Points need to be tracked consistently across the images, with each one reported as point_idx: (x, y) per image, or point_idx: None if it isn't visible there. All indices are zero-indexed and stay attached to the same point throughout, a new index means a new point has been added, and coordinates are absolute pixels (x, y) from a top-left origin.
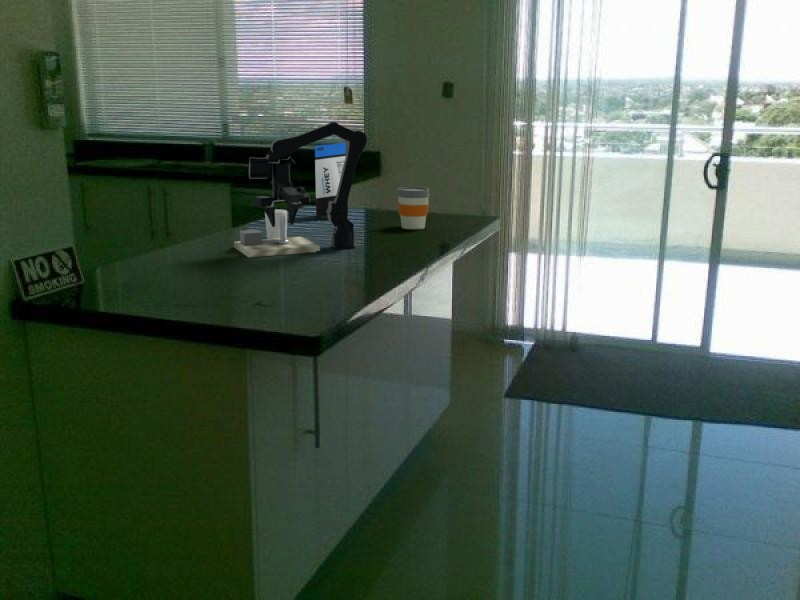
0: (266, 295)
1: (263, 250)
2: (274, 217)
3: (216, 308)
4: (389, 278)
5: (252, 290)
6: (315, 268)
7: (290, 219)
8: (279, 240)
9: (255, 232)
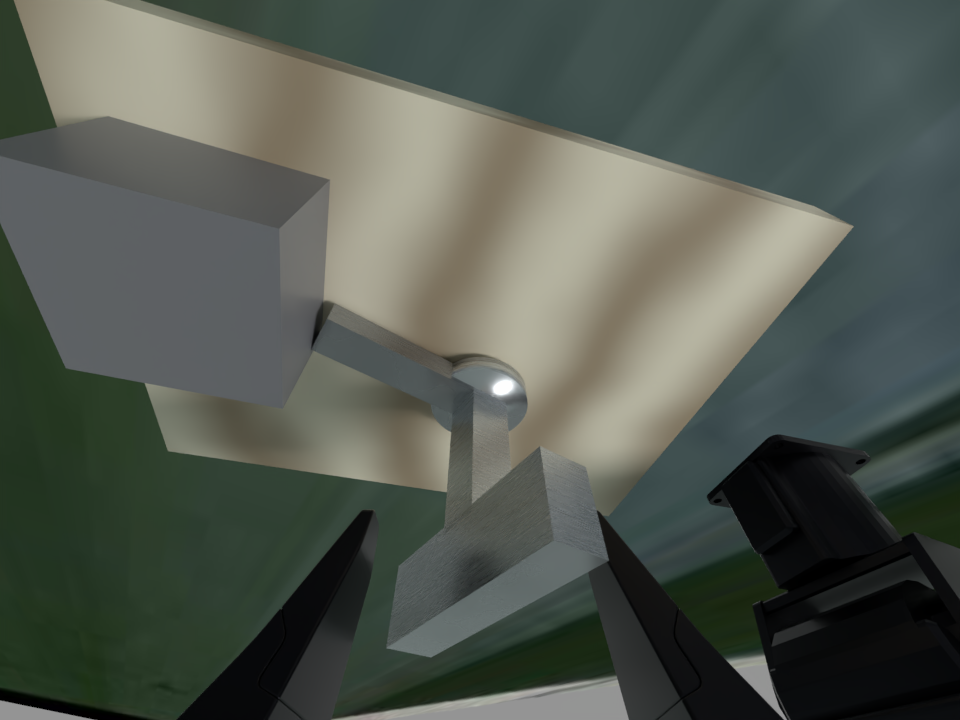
0: (187, 671)
1: (273, 464)
2: (345, 648)
3: (73, 680)
4: (491, 682)
5: (158, 653)
6: None
7: (597, 568)
8: (446, 409)
9: (212, 374)
